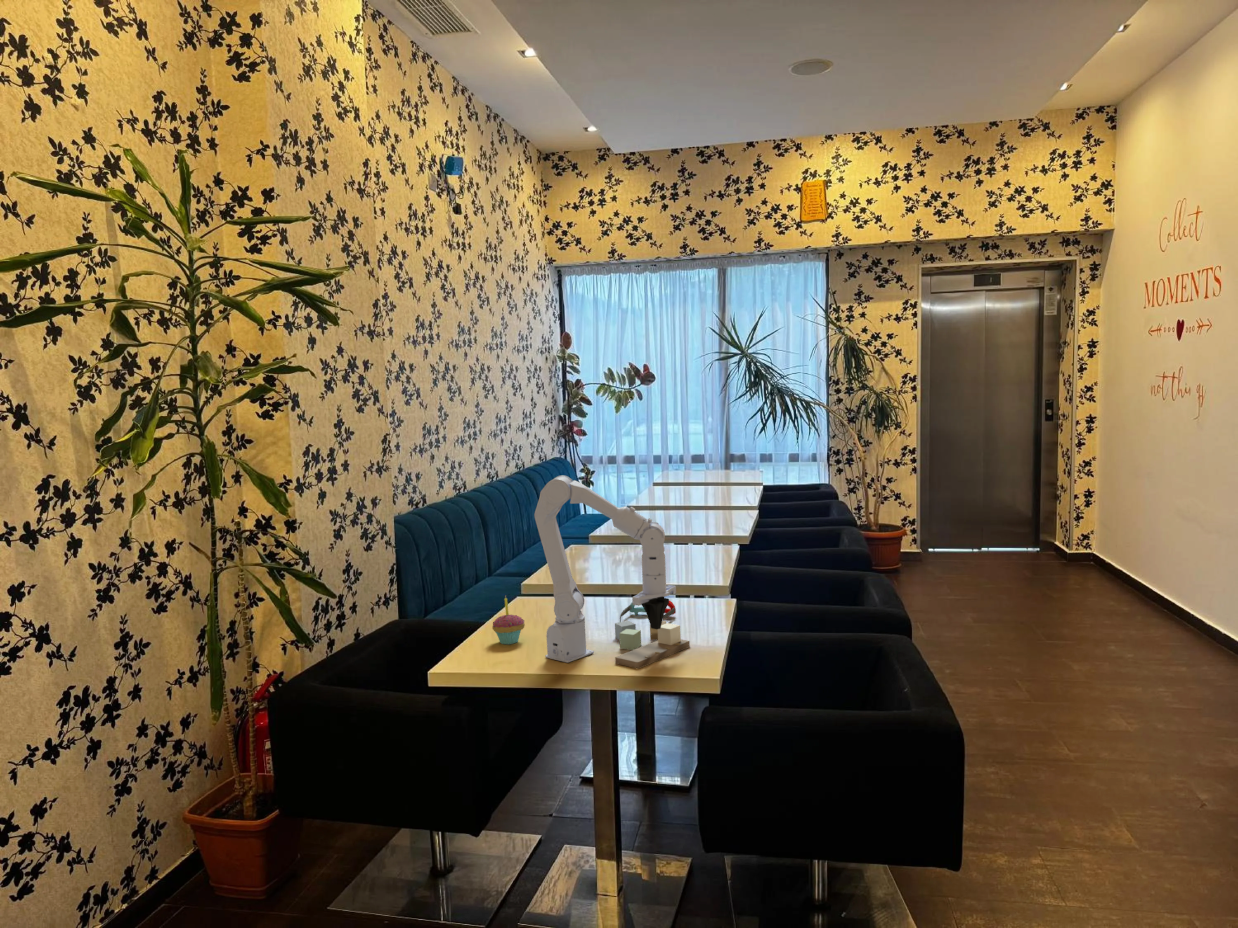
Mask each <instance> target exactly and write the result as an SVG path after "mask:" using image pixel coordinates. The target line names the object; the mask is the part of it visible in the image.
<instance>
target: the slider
mask: <svg viewBox="0 0 1238 928" xmlns="http://www.w3.org/2000/svg"><path fill="white" fill-rule="evenodd" d="M681 635H682V634H681V625H680V624H679V625H678V624H676V623H675V624H674V623H669V622H666V624H664V625H661V628H660V629H658V643H662V644H667V645H673V644H675V643H678V642H680V641H681V639H682V638H681V637H682V636H681Z"/></svg>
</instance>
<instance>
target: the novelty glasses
mask: <svg viewBox="0 0 1238 928" xmlns="http://www.w3.org/2000/svg"><path fill="white" fill-rule="evenodd" d="M667 607H669V608H667ZM667 607H666V610H665V612H664V616H663V620H664V619H666V618H669V617H670V616H673V615H675V614H676V613H677V610H676V609H677V608H676V606H675V604H674V603H673V602H672V601H671V600H669V604H668V605H667ZM628 612H630V613H634V616H636V615H638V614H639V613H646V611H645V610H644V608H643V606H637V607H636V605H633V602H631V603H630V605H628V606H627V607H626V608H624V609H623V610H622V612H621V613H620V615H619V622H622V621H621V620H622V619H621V618H623V616H624V615H626V614H627V613H628Z"/></svg>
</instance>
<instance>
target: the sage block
mask: <svg viewBox="0 0 1238 928" xmlns="http://www.w3.org/2000/svg"><path fill="white" fill-rule="evenodd" d="M619 634H620V640H619V649H621V650H629V651H630V650H631V651H632V650H635V649H637V648H640V647H642V631H641V629H636V630H632V629H626V630H624V631H622V632H621V633H619Z"/></svg>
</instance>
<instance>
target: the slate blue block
mask: <svg viewBox="0 0 1238 928" xmlns="http://www.w3.org/2000/svg"><path fill="white" fill-rule="evenodd" d="M626 629H632V630H637V629H636V623H634V622H632V621H630V620H624V621H621V622H620V621H619V622H615V623H614V632H615V633H614V635H615V639H617V640H619V641H620V634H619V633H621V632H622V631H624V630H626Z"/></svg>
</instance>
